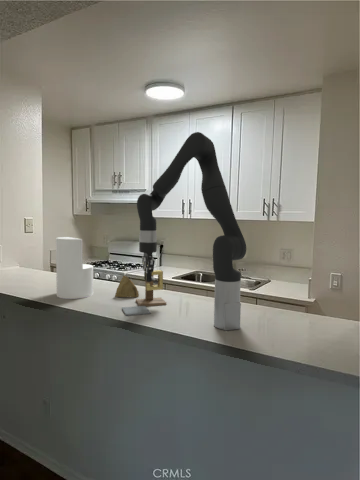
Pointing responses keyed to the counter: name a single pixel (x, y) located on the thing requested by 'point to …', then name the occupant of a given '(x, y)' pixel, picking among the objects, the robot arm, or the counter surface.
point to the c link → (160, 281)
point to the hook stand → (150, 297)
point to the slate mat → (135, 310)
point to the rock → (126, 288)
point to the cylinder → (72, 269)
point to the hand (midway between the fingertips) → (147, 280)
